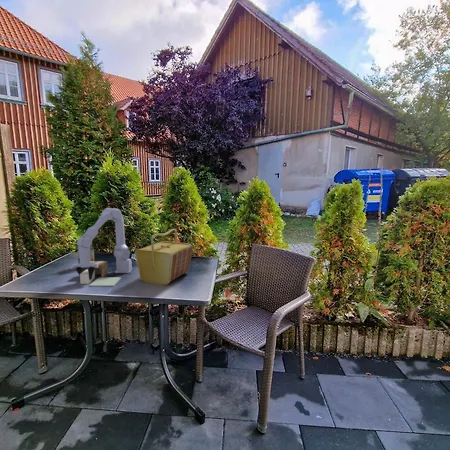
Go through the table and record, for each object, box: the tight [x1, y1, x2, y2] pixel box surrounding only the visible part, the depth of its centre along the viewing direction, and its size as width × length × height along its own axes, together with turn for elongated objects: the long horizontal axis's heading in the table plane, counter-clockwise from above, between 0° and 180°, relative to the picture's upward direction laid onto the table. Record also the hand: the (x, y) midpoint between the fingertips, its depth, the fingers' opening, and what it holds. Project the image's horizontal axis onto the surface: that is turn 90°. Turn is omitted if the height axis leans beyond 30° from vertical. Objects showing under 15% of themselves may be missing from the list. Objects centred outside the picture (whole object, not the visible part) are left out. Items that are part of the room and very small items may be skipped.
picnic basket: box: [134, 228, 194, 286], centre depth 185 cm, size 29×26×30 cm
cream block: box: [79, 269, 96, 285], centre depth 179 cm, size 4×10×6 cm, turn 2°
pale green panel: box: [88, 276, 122, 287], centre depth 177 cm, size 14×14×1 cm
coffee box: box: [77, 243, 95, 264], centre depth 206 cm, size 9×6×16 cm
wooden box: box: [83, 260, 109, 277], centre depth 188 cm, size 14×8×8 cm, turn 92°
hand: (86, 279), depth 177 cm, fingers closed on cream block, 4 cm apart
